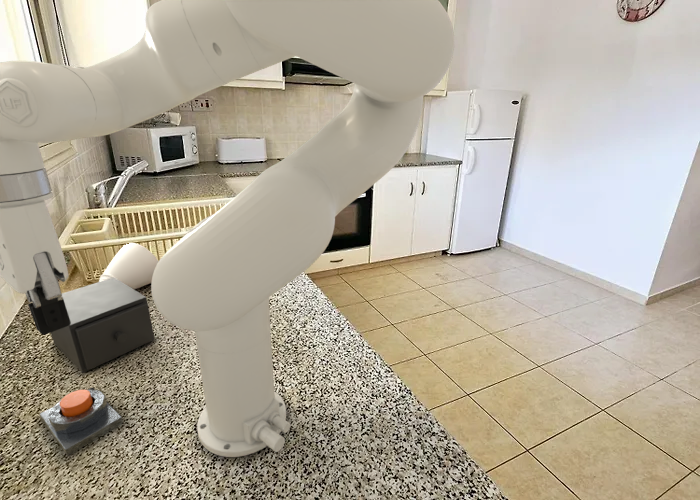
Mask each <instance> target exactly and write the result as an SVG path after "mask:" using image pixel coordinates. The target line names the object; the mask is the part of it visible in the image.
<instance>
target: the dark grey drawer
mask: <svg viewBox="0 0 700 500" xmlns="http://www.w3.org/2000/svg"><path fill="white" fill-rule="evenodd" d="M148 308H149V305H148V306H147V304H146V303H142V304H139V305H134V306H131V307H129V308H126V309H123V310H121V311H118V312H115V313H113V314H110V315H107V316H105V317H102V318H100V319H97V320H94V321H92V322H89V323H86V324H84V325H81V326H78V327H76V329H75V333H76V336H77V340H78V343H79V347H80V350H81V354H82V357H83V360H84V364H85V367H86V368H87V369H88V371H90V370H92V369H94V367H95V368H96V366H97V367H99V366H101V365H103V364H105V363H107V361H108V362H109V360H110V361H112V360H114V359H116V358H118V357H121V356H122V354H123V355H125V354H127V353H128V351H129V352H131V351H133V349H134V350H135V348H136V349H138V348H140V347H142V346H144V345H146V343H147V344H149V343H151V342H153V341H155V340H154V339H155V335H154V336H153V333H154V330H153V331H152V328H153V325H152V326H151V323H152V320H151V321H150V318H151V315H150V316H149V313H150V310H149V311H148ZM152 340H153V341H152ZM150 341H151V342H150ZM148 342H149V343H148ZM143 344H144V345H143ZM141 345H142V346H141ZM139 346H140V347H139ZM137 347H138V348H137ZM130 350H131V351H130ZM126 352H127V353H126ZM124 353H125V354H124ZM120 355H121V356H120ZM117 356H118V357H117ZM115 357H116V358H115ZM113 358H114V359H113ZM111 359H112V360H111ZM104 362H105V363H104ZM102 363H103V364H102ZM100 364H101V365H100ZM98 365H99V366H98ZM91 368H92V369H91ZM89 369H90V370H89Z"/></svg>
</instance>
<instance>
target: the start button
mask: <svg viewBox="0 0 700 500" xmlns="http://www.w3.org/2000/svg"><path fill="white" fill-rule="evenodd" d="M59 401H60V400H59ZM92 404H93V401H92V397H91V394H90V392H89V391H88V389H77V390H74V391H71V392H69V393H68V394H66V395H64V396H63V397H62V398H61V401H60V407H61V410H62V413H63V415H64V416H65V417H73V416H77V415H80V414H82V413H84V412H85V411H87V410H88V409H89V408H90V407H91V406H92Z"/></svg>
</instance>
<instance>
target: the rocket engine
mask: <svg viewBox="0 0 700 500" xmlns="http://www.w3.org/2000/svg"><path fill="white" fill-rule="evenodd" d="M128 243H129V244H127V243H125V244H126V245H125V244H124V245H123V246H122V247H121V248H120V249H119V250H118V252H117V253H115V255H114V256H113V258H112V260H111V261H110V262H109V263H108V265H107V266H106V268H105V269H104V272H103V273H102V274H100V276H99V280H98V282H101V281H104V280H107V279H110V278H116V279H117V280H119V281H121V282H122V283H124V284H126V285H127V286H129V287H131V288H132V289H134V290H138V289H140V288H142V287H145V286H147V285H149V284H151V283H152V276H153V273H154V270H155V267H156V265H157V264H158V262H159V259H158V258H157V257H156V255H155V254H154V253H153V252H152V251H150V250H149V249H148V248H146V247H145V246H143V245H142V244H139V243H136V242H128Z"/></svg>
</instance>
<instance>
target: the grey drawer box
mask: <svg viewBox="0 0 700 500" xmlns="http://www.w3.org/2000/svg"><path fill="white" fill-rule="evenodd" d="M61 294H62V297H63V299H64V303H65V306H66V309H67V312H68V315H69V318H70V322H71V324H70V325H69V326H67V327H64V328H62V329H59V330H56V331H54V332H51V333H50V336H51V339H52V342H53V345H55V347H57V348H58V350H59V351H60V352H62V353H63V355H64V356H65V357H66V358H67V359H68V360H69V361H70V362H71V363H72V364H73V365H74V366H75V367H76V368H77V369H78V370H79V371H80V372H81V373H82V374H83V373H86V372H89V371H90V370H92V369H94V368H96V367H99V366H101V365H103V364H105V363H107V362H109V361H112V360H114V359H116V358H118V357H121V356H122V355H125V354H127V353H128V352H129V353H130V352H132V351H133V350H135V349H138V348H140V347H142V346H144V345H146V344H149V343H151V342H153V341H155V338H154V340H152V341H150V342H148V343H146V344H143V345H141V346H139V347H137V348H135V349H133V350H130V351H128V352H126V353H124V354H122V355H120V356H117V357H115V358H113V359H111V360H109V361H107V362H104V363H102V364H100V365H98V366H96V367H94V368H91V369H89V370H88V369H87V368H86V367H85V364H84V360H83V357H82V354H81V350H80V347H79V343H78V340H77V336H76V333H75V329H76V327H78V326H81V325H84V324H86V323H89V322H92V321H94V320H97V319H100V318H102V317H105V316H107V315H110V314H113V313H115V312H118V311H121V310H123V309H126V308H129V307H131V306H134V305H139V304H142V303H146V304H147V306H148V311H149V316H150V321H151V326H152V331H153V336H154V337H155V333H154V329H153V325H152V319H151V313H150V308H149V303H148V298H147V296H145V295H144V294H142V293H141V292H139V291H137V289H132V288H131V287H129V286H127V285H126V284H124V283H122V282H121V281H119V280H117V279H116V278H110V279H107V280H104V281H101V282H99V281H98V282H94V283H91V284H88V285H85V286H81V287H79V288H75V289H71V290H68V291H65V292H61Z"/></svg>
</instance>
